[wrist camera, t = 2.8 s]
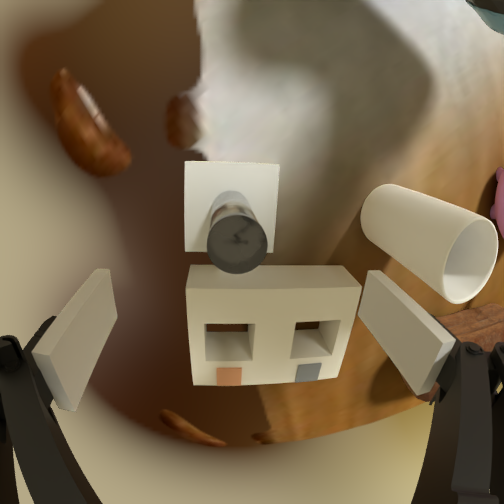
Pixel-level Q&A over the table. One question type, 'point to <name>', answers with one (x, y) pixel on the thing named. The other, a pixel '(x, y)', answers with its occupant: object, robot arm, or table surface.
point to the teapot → (499, 202)
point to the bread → (471, 332)
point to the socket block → (269, 323)
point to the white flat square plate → (224, 179)
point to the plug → (235, 235)
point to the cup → (432, 239)
